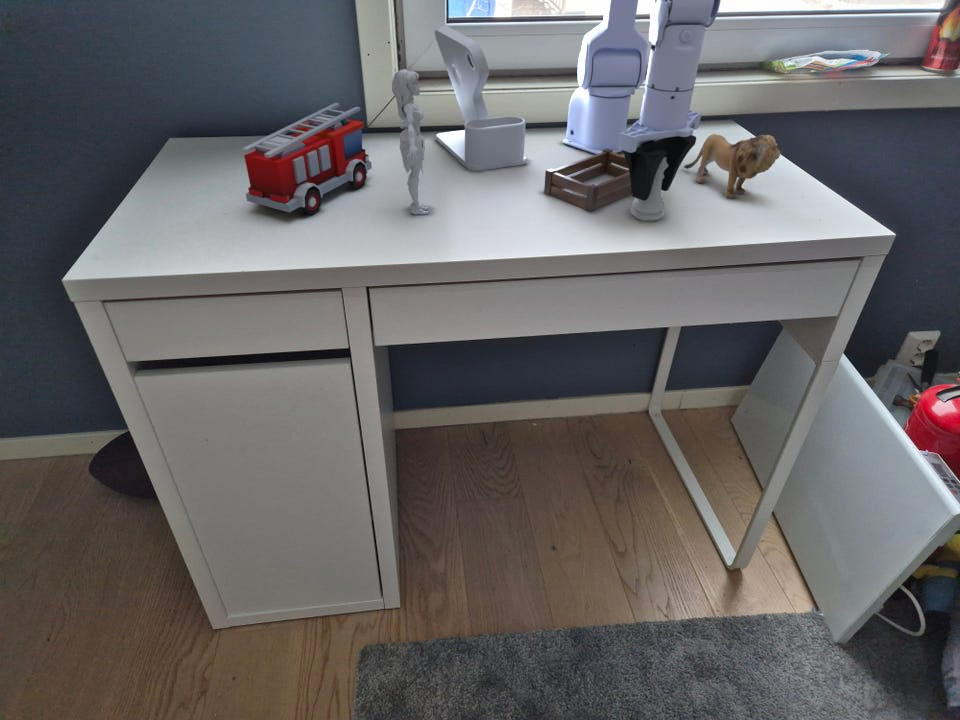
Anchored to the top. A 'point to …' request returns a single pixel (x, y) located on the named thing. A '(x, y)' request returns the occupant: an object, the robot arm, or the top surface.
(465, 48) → the phone holder
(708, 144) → the lion figurine
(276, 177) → the toy fire truck
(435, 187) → the top surface
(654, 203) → the rook chess piece
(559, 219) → the top surface
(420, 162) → the human figurine
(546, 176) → the crate
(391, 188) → the top surface
